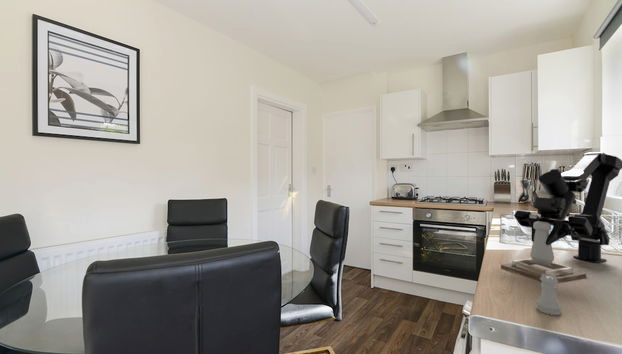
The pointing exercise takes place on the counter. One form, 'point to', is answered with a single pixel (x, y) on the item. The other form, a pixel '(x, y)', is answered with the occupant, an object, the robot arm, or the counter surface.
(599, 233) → the robot arm
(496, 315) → the counter surface
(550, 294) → the rook chess piece
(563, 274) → the collar board
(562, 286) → the counter surface
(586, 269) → the counter surface
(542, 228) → the salt shaker
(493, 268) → the counter surface
